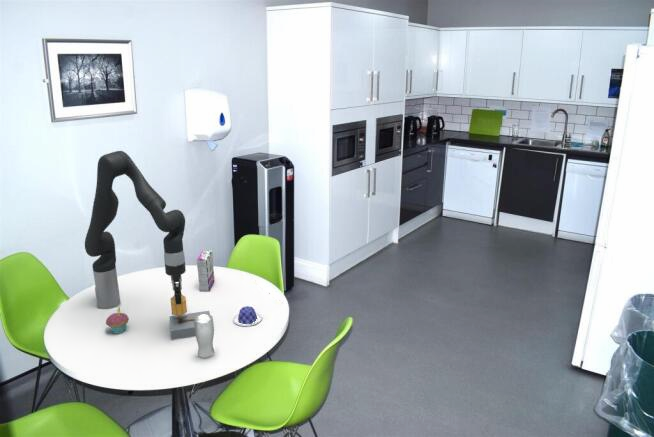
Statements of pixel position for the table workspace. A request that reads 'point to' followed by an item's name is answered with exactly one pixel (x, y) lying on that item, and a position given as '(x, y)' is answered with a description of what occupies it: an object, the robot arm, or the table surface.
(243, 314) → the pudding
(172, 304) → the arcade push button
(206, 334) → the beer glass
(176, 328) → the box
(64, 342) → the table surface
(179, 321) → the wooden post
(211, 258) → the candy bar box
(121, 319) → the cupcake
